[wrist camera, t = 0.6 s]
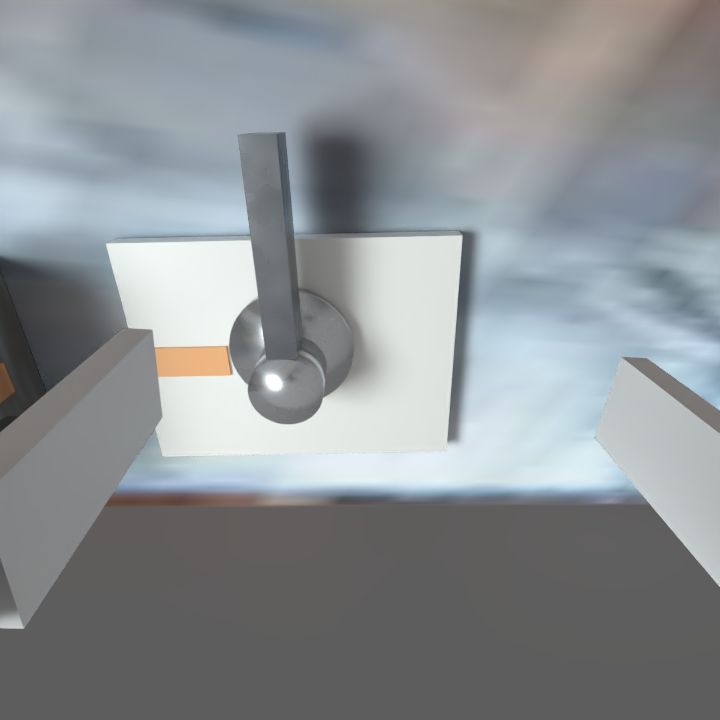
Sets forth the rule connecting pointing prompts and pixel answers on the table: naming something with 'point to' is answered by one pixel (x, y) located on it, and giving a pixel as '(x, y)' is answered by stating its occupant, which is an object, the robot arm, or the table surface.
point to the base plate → (329, 280)
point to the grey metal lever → (283, 301)
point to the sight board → (15, 363)
